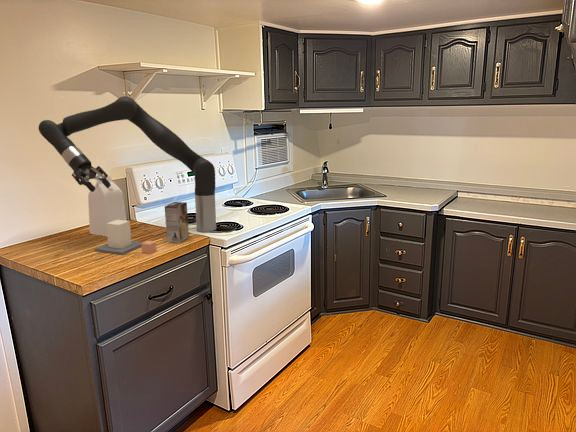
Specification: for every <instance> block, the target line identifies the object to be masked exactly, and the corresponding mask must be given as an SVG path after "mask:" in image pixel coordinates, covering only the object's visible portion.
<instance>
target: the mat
mask: <svg viewBox="0 0 576 432" xmlns="http://www.w3.org/2000/svg"><path fill="white" fill-rule="evenodd" d="M131 241H132V244H131V245H129V246H126V247H124V248H122V249H120V248H113V247H109V246H108V242H107V243H105V244H102V245H100V246H98V247H95V248H94V252H99V253H106V254H113V255H120V256H124V255H126V254H128V253H130V252H133V251H135V250H137V249H140V248H142V246H141V243H144V242H145V241H136V240H131Z"/></svg>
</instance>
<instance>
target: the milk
mask: <svg viewBox="0 0 576 432" xmlns="http://www.w3.org/2000/svg"><path fill="white" fill-rule="evenodd" d="M99 178H101V177H99ZM101 179H102V178H101ZM106 179H107V180H108V182H109V183H110V184H111V186H110V187H109V188H106V187H105V185H104V184H103V183H102V181H100V180H96V181H95V182H96V183H95V185H93V186H94V187H95V188H96V189H95V190H94V192H91V191H90V190H89V192H88V195H87V199H88V203H87V204H88V222H89V234H90V233H91V235H95V234H96V235H95V236H101V235H102V237H107V227H106V223H109V222H112V221H115V220H125V221H128V220H127V213H126V207H125V198H124V193H123V191H122V190H121V188H120V187H119V186H118V185H117V184H116V183H115V182H114V181H113V180H112V178H111V175H108V177H107V178H106Z"/></svg>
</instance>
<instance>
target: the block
mask: <svg viewBox="0 0 576 432" xmlns="http://www.w3.org/2000/svg"><path fill="white" fill-rule="evenodd" d="M143 242H144V243H141V246H142V247H141V253H142V254H148V255H152V254H153V253H155V252H157V241H154V240H153V241H152V240H147V241H143Z"/></svg>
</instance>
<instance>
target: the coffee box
mask: <svg viewBox="0 0 576 432" xmlns="http://www.w3.org/2000/svg"><path fill="white" fill-rule="evenodd" d="M164 217H165V231H166V242H167V243H179V244H181V243H182V242H183V241H185V240H186V239H188V238H189V237H190V235H189V219H188V218H189V217H188V203H187V201H185V202H183V201H173V202H171V203H169V204H167V205H165V206H164Z"/></svg>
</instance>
